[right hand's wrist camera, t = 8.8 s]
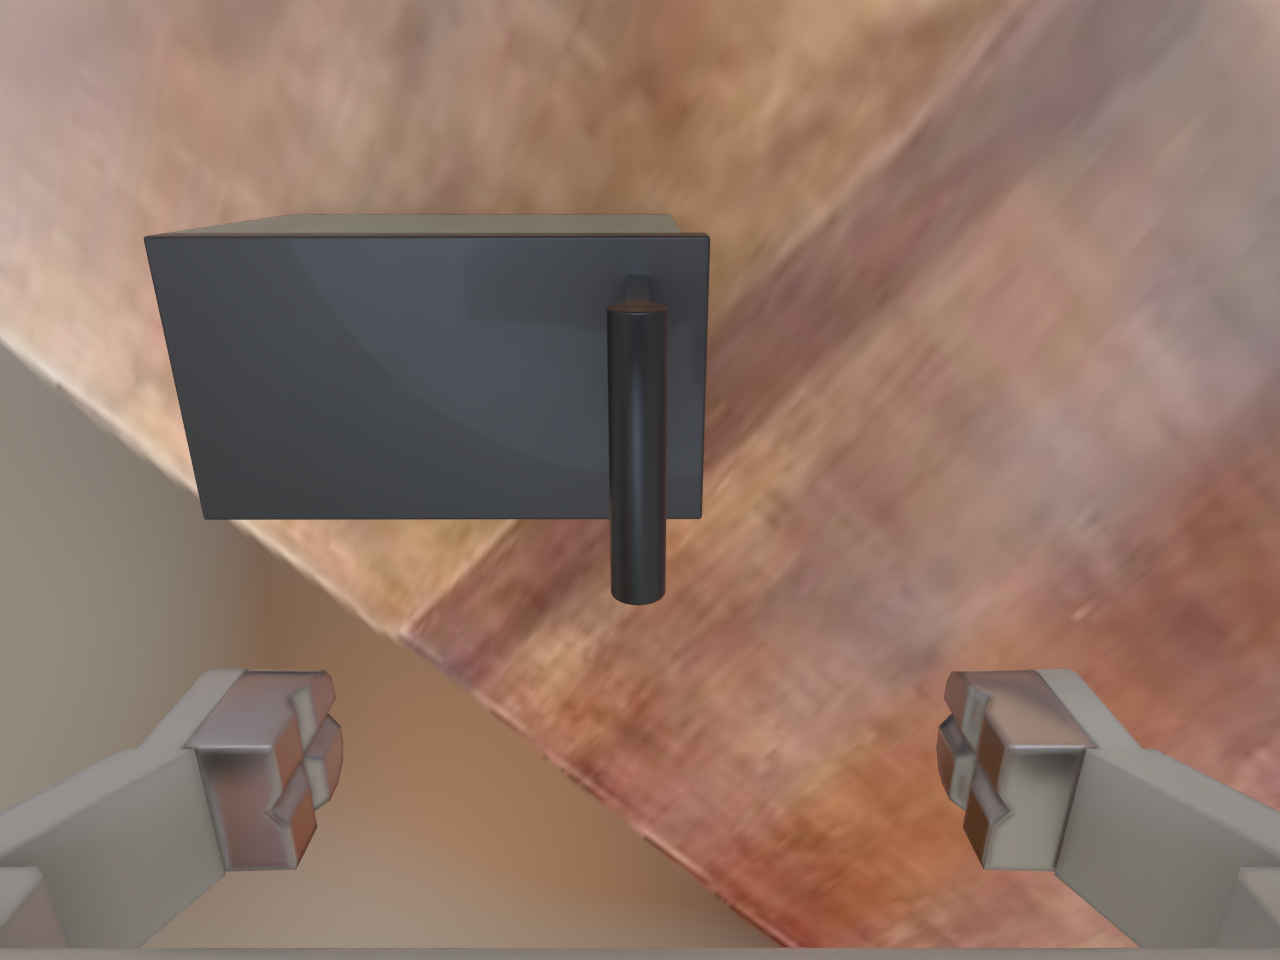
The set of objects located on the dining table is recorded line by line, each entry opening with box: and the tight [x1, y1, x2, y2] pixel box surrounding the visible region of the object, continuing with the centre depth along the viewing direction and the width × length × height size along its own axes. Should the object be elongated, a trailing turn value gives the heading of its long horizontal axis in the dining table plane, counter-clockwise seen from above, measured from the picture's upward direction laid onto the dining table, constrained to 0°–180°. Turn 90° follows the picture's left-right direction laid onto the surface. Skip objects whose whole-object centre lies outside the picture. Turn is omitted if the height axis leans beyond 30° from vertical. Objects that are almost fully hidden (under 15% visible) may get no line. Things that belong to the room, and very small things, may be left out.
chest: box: [170, 214, 682, 233], centre depth 32 cm, size 16×9×10 cm, turn 90°
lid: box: [144, 233, 710, 605], centre depth 23 cm, size 17×9×9 cm, turn 90°
